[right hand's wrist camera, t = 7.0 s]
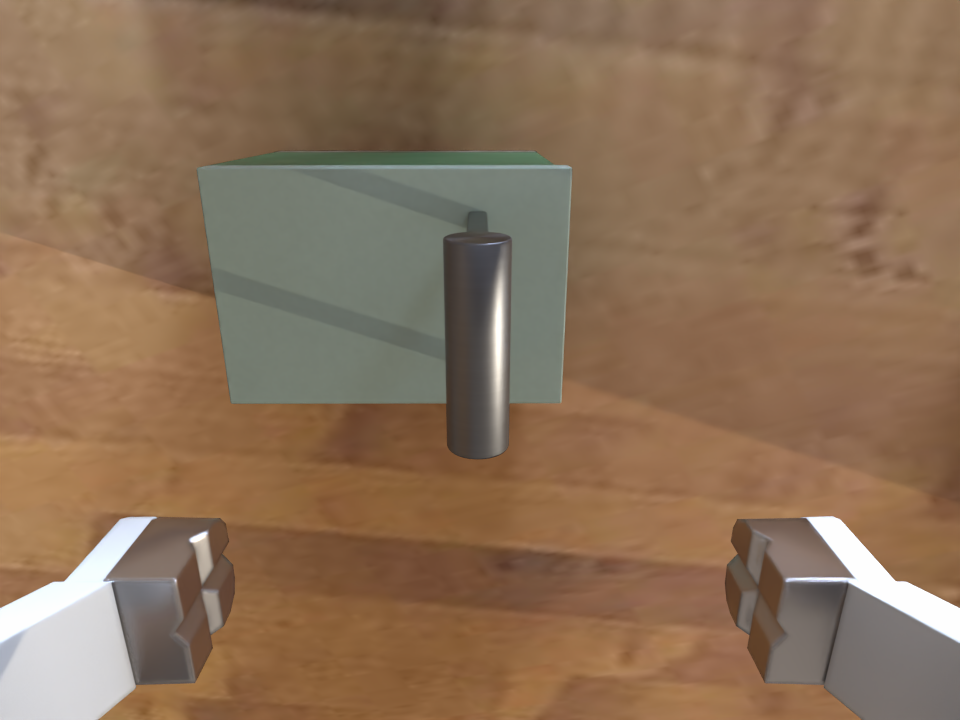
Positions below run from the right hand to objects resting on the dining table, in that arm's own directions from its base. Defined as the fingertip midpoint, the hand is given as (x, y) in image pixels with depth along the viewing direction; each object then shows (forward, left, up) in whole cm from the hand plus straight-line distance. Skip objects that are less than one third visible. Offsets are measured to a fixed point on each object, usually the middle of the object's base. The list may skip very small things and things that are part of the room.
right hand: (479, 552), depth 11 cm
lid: (+2, -3, -17) cm, 18 cm away
